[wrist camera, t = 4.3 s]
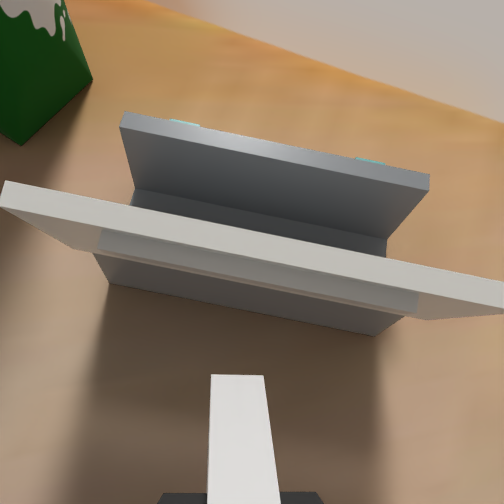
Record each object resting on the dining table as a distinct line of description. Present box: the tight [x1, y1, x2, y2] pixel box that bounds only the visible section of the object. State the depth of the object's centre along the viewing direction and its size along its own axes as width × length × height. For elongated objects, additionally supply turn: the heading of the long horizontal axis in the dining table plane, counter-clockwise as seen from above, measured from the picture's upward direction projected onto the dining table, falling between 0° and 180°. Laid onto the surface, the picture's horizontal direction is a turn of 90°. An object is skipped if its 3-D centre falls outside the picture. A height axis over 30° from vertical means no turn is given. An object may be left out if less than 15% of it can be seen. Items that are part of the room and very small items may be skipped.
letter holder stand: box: [93, 111, 430, 336], centre depth 26 cm, size 16×8×7 cm, turn 80°
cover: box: [0, 180, 504, 320], centre depth 17 cm, size 16×7×1 cm
